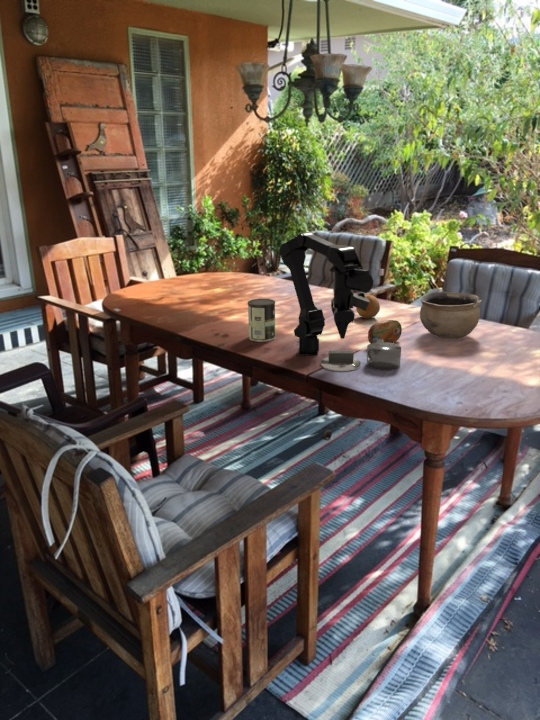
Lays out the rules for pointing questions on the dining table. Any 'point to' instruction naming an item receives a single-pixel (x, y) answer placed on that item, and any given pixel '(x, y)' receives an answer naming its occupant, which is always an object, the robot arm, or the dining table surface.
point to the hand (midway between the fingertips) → (341, 334)
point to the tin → (385, 331)
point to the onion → (370, 307)
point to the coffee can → (261, 320)
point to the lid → (340, 361)
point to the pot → (383, 355)
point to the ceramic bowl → (450, 314)
